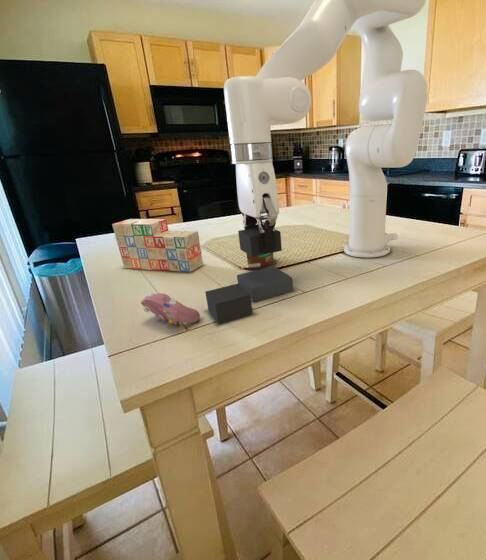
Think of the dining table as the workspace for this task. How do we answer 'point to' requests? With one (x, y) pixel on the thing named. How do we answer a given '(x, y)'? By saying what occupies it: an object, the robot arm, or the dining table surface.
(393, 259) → the dining table surface
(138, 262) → the stack of blocks
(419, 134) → the robot arm
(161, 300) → the pink toy car
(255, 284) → the base pad
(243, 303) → the black pad
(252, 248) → the charcoal pad
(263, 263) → the food container
